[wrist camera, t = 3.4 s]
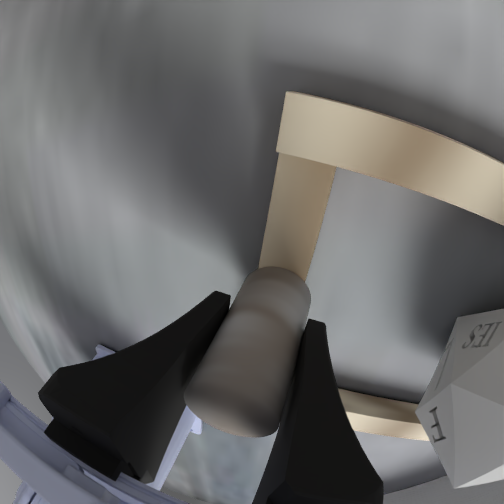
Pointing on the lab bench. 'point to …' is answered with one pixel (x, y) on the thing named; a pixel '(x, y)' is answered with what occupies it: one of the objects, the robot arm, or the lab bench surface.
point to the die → (469, 401)
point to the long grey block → (448, 493)
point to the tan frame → (301, 252)
